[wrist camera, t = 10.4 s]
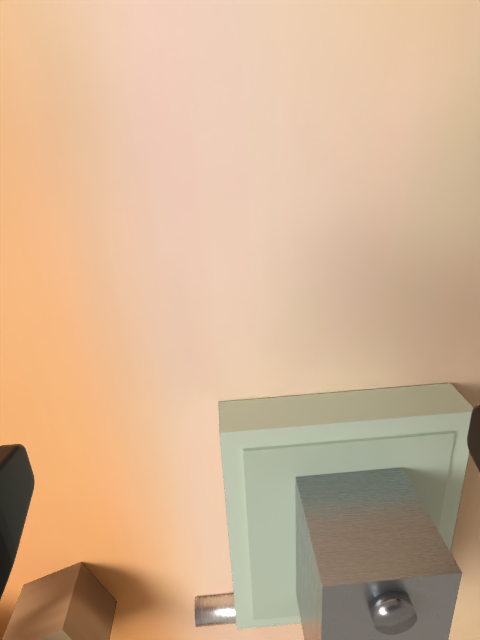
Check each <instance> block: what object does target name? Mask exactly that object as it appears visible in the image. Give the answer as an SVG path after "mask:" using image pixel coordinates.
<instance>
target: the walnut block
mask: <svg viewBox="0 0 480 640" xmlns="http://www.w3.org/2000/svg"><path fill="white" fill-rule="evenodd" d="M116 602H117V601H116V600H115V599H114V597H113V596H112V595H111V594H110V593H109V592H108V591H107V590H106V589H105V587H104V586H103V585H102V584H101V583H100V582H99V581H98V580H97V578H96V577H95V576H94V575H93V574H92V573H91V572H90V571H89V569H88V568H87V567H86V566H85V565H84V564H83V563H82V562H80V563H77V564H75V565H72V566H70V567H67V568H65V569H62V570H60V571H57V572H54V573H52V574H49V575H47V576H44V577H42V578H39V579H37V580H34V581H32V582H29V583H27V584H24V586H23V588H22V591H21V593H20V596H19V598H18V601H17V603H16V606H15V608H14V611H13V613H12V616H11V618H10V621H9V623H8V626H7V628H6V631H5V633H4V636H3V639H2V640H110V634H111V629H112V624H113V618H114V613H115V608H116Z"/></svg>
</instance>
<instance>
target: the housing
mask: <svg viewBox="0 0 480 640" xmlns="http://www.w3.org/2000/svg"><path fill="white" fill-rule="evenodd" d="M295 503H296V596H297V602H298V607H299V613H300V618H301V623H302V629H303V634H304V639H305V640H448V638H449V633H450V628H451V623H452V619H453V614H454V609H455V604H456V599H457V594H458V590H459V585H460V580H461V575H462V572H461V570H460V568H459V567H458V565H457V563H456V561H455V560H454V558H453V556H452V554H451V553H450V551H449V549H448V547H447V545H446V544H445V542H444V540H443V538H442V537H441V535H440V533H439V531H438V530H437V528H436V526H435V524H434V523H433V521H432V519H431V517H430V515H429V514H428V512H427V510H426V508H425V507H424V505H423V503H422V501H421V500H420V498H419V496H418V494H417V493H416V491H415V489H414V487H413V485H412V484H411V482H410V480H409V478H408V477H407V475H406V473H405V471H404V470H403V468H402V467H398V468H387V469H376V470H365V471H353V472H342V473H331V474H320V475H309V476H297V477H295Z"/></svg>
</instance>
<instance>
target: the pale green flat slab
mask: <svg viewBox="0 0 480 640" xmlns="http://www.w3.org/2000/svg"><path fill="white" fill-rule="evenodd" d="M218 407H219V434H220V445H221V456H222V467H223V479H224V490H225V501H226V513H227V524H228V535H229V547H230V558H231V569H232V581H233V592H234V603H235V615H236V626H237V630H238V629H248V628H258V627H268V626H278V625H288V624H298V623H301V618H300V613H299V607H298V602H297V596H296V503H295V477H297V476H309V475H320V474H331V473H342V472H353V471H365V470H376V469H387V468H398V467H402V468H403V470H404V471H405V473H406V475H407V477H408V478H409V480H410V482H411V484H412V485H413V487H414V489H415V491H416V493H417V494H418V496H419V498H420V500H421V501H422V503H423V505H424V507H425V508H426V510H427V512H428V514H429V515H430V517H431V519H432V521H433V523H434V524H435V526H436V528H437V530H438V531H439V533H440V535H441V537H442V538H443V540H444V542H445V544H446V545H447V547H448V549H449V551H451V546H452V541H453V536H454V530H455V525H456V520H457V514H458V509H459V504H460V498H461V493H462V488H463V482H464V477H465V472H466V466H467V461H468V456H469V449H468V445H467V435H468V430H469V424H470V419H471V413H472V410H473V406H472V405H471V404H470V403H469V402H468V401H467V400H466V399H465V398H464V397H463V396H462V395H461V394H460V393H459V392H458V390H457V389H456V388H455V387H454V386H453V385H452V384H451V383H444V384H432V385H420V386H407V387H395V388H383V389H371V390H359V391H346V392H334V393H322V394H310V395H298V396H285V397H273V398H261V399H249V400H237V401H224V402H218Z"/></svg>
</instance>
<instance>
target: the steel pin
mask: <svg viewBox="0 0 480 640" xmlns="http://www.w3.org/2000/svg"><path fill="white" fill-rule="evenodd" d="M235 623H236V615H235V603H234V594H224V595H213V596H202V597H195V624H196V627H203V626H214V625H224V624H235Z"/></svg>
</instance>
